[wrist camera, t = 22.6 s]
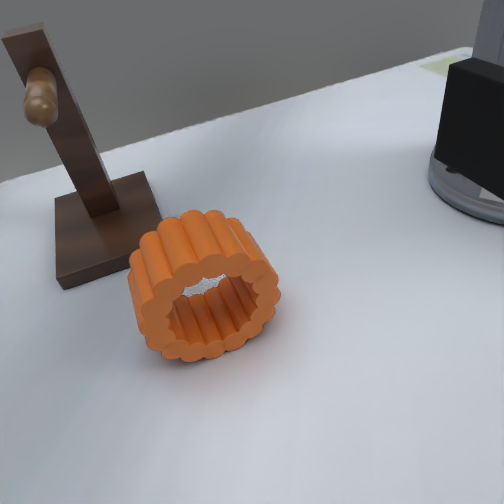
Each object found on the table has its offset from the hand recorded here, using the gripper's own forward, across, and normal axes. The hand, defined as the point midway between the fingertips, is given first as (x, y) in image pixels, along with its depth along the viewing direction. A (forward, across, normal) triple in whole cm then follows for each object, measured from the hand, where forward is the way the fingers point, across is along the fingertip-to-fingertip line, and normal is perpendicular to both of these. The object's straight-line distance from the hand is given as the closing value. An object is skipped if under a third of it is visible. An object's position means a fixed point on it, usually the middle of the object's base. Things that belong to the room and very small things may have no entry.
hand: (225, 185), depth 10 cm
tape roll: (+11, -2, -18) cm, 21 cm away
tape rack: (+27, -7, -18) cm, 33 cm away
